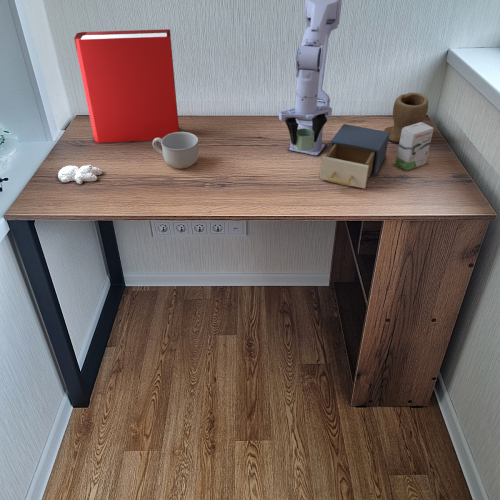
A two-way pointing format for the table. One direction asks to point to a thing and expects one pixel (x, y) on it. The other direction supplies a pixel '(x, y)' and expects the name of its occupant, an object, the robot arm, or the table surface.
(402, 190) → the table surface
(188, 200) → the table surface
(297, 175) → the table surface
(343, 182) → the drawer
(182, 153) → the teacup
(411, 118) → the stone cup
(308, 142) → the cup
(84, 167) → the white plush toy
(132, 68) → the book
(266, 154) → the table surface
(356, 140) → the cabinet
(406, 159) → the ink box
